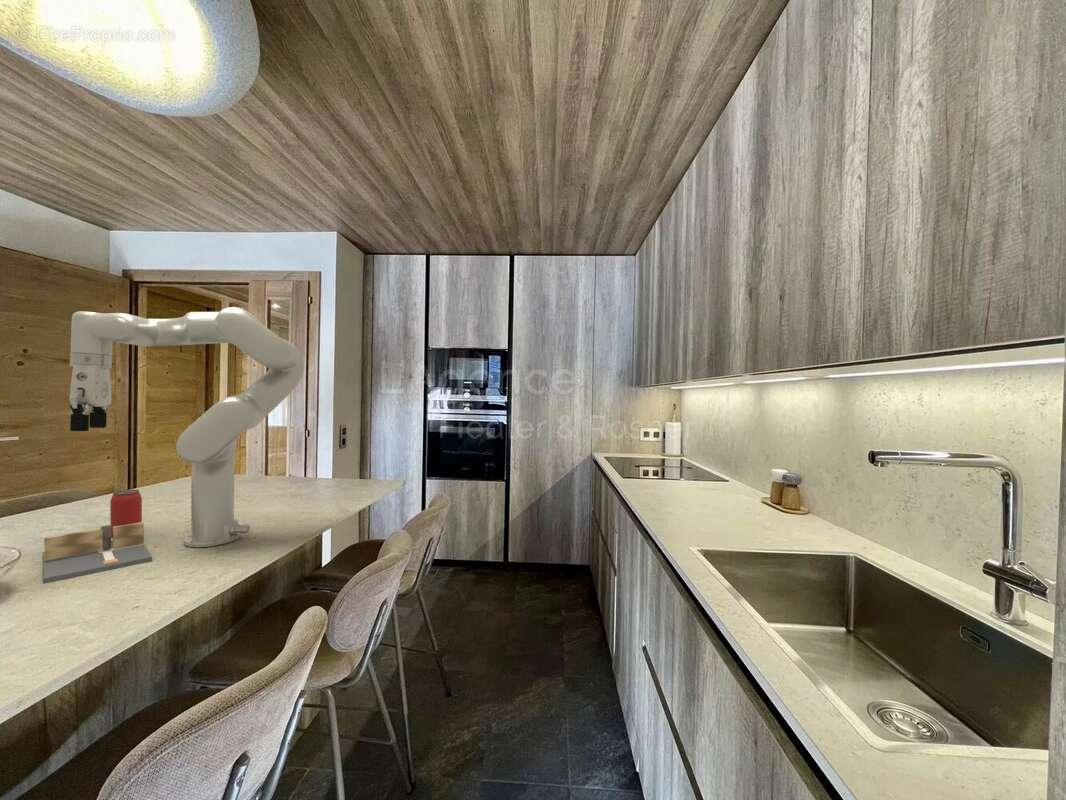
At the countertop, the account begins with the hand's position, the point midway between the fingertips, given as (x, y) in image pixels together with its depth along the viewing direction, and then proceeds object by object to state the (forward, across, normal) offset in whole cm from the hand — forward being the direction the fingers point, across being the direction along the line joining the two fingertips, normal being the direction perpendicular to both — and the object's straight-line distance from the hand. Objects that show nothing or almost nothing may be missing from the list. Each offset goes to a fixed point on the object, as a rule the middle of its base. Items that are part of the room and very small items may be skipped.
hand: (88, 429), depth 115 cm
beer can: (+31, +11, -5) cm, 33 cm away
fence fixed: (+29, -5, -10) cm, 31 cm away
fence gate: (+29, -9, -2) cm, 30 cm away
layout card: (+30, -9, -6) cm, 32 cm away
